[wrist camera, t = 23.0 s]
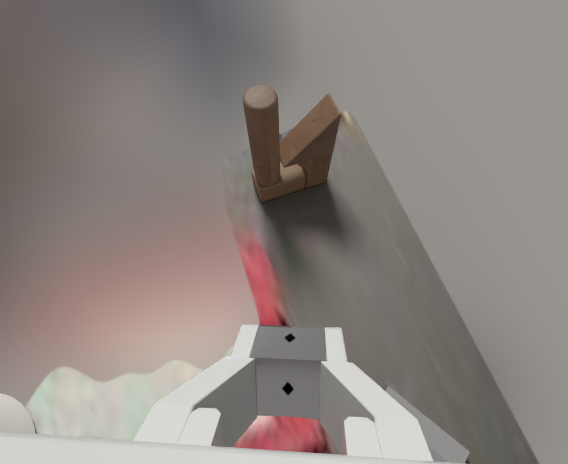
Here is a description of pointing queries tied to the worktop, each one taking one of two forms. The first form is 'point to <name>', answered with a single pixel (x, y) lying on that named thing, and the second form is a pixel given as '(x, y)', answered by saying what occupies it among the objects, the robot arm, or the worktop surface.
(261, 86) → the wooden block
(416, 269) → the worktop surface
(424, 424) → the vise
